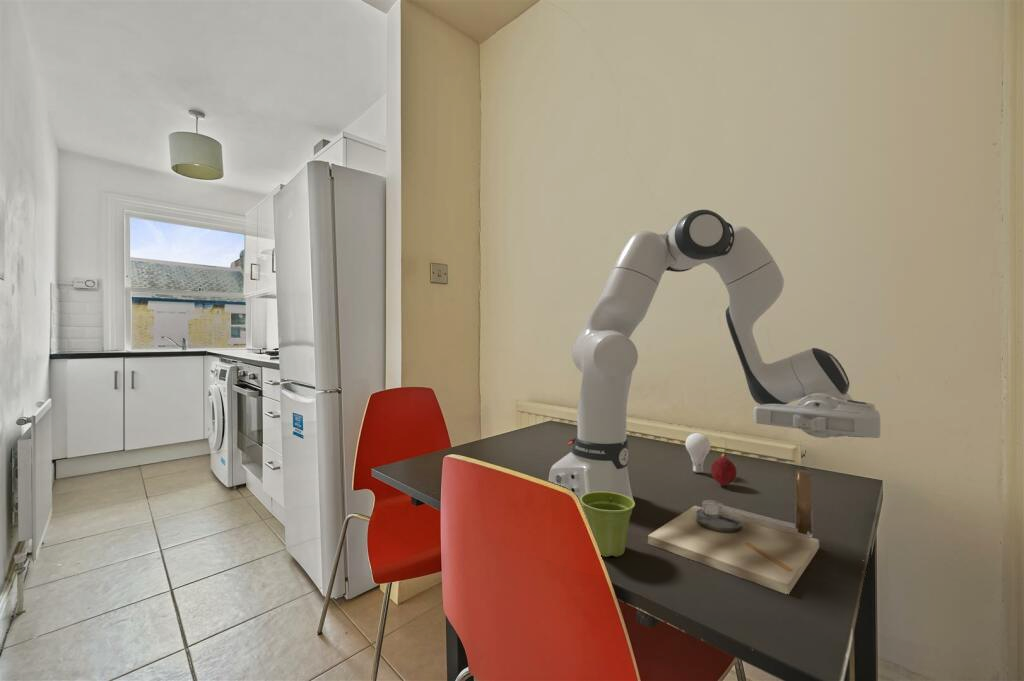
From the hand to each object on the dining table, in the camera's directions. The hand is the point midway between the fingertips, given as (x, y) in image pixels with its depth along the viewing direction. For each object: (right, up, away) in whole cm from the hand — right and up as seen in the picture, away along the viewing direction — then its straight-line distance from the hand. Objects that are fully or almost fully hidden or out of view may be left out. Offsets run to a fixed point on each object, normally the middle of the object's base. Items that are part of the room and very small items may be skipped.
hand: (804, 424), depth 79 cm
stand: (-14, -21, -2) cm, 26 cm away
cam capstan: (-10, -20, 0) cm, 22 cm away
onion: (0, -21, +30) cm, 37 cm away
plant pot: (-37, -22, -3) cm, 43 cm away
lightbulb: (-2, -21, +41) cm, 46 cm away
